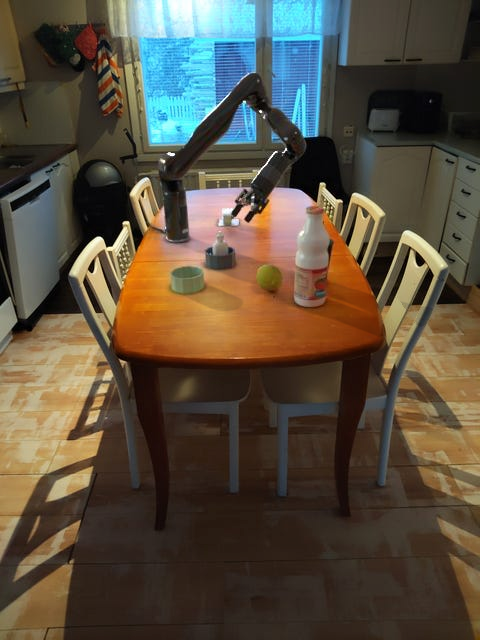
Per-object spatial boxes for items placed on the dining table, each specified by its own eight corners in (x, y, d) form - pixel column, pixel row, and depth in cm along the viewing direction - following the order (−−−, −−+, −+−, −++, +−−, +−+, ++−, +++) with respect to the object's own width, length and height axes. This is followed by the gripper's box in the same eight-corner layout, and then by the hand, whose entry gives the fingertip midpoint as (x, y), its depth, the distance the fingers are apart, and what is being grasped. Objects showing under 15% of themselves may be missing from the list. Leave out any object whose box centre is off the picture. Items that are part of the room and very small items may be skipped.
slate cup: (200, 263, 166) (199, 250, 163) (223, 256, 171) (223, 243, 168) (216, 272, 158) (216, 258, 156) (240, 264, 164) (240, 251, 161)
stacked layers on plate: (238, 225, 203) (237, 213, 200) (217, 225, 203) (217, 213, 200) (238, 218, 212) (238, 207, 209) (219, 219, 212) (218, 207, 209)
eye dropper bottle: (212, 262, 166) (211, 230, 160) (228, 260, 167) (227, 228, 161) (213, 266, 162) (212, 233, 157) (229, 265, 163) (228, 232, 157)
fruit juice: (297, 292, 143) (301, 202, 129) (327, 295, 140) (334, 204, 127) (290, 305, 135) (294, 211, 122) (322, 309, 133) (330, 214, 119)
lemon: (285, 295, 141) (286, 271, 138) (260, 297, 140) (260, 273, 136) (277, 280, 151) (277, 258, 147) (253, 283, 150) (253, 260, 146)
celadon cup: (166, 285, 149) (164, 271, 147) (193, 277, 155) (192, 263, 152) (182, 296, 142) (181, 281, 140) (210, 287, 147) (209, 273, 145)
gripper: (284, 191, 158) (257, 229, 158) (261, 183, 168) (235, 219, 169) (272, 177, 153) (243, 217, 153) (249, 170, 163) (222, 207, 164)
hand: (239, 218), depth 161 cm, fingers open, 8 cm apart
